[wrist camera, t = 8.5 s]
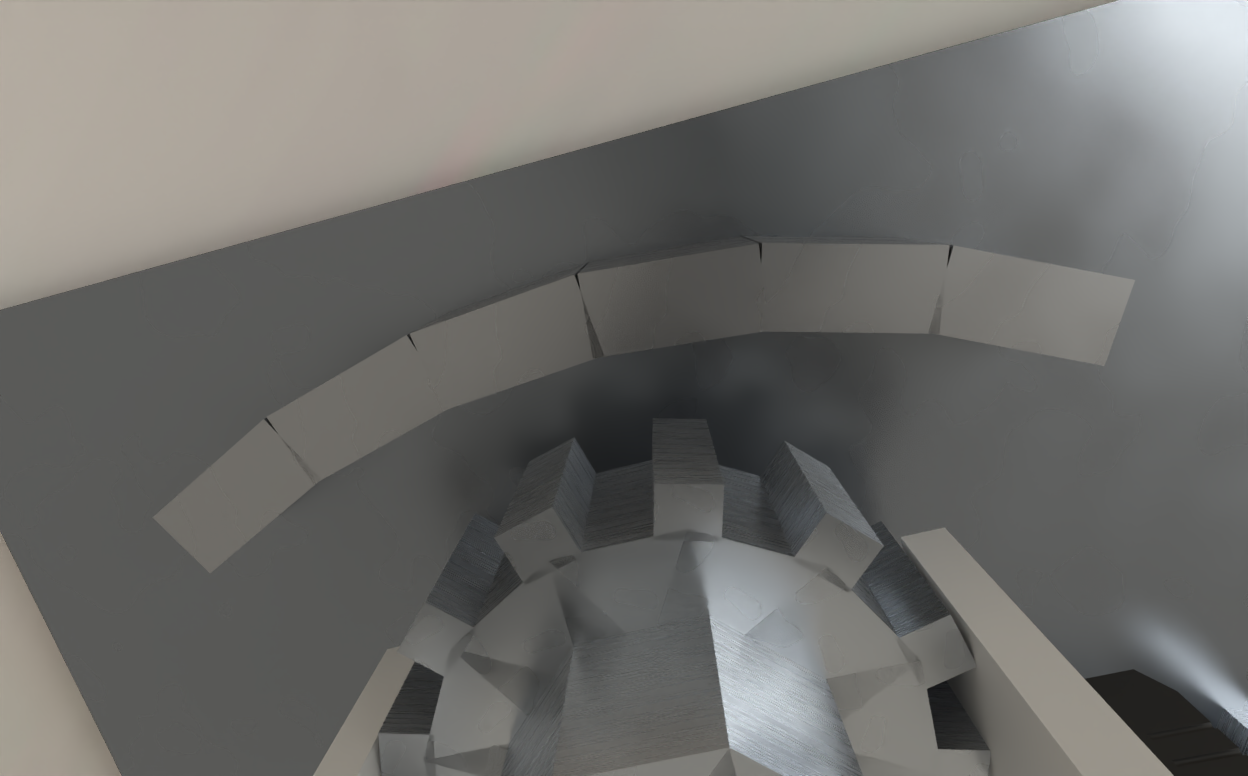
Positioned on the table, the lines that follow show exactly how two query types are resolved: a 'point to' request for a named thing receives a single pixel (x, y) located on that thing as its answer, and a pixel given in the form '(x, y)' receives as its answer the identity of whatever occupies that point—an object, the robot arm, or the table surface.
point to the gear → (681, 631)
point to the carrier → (674, 376)
